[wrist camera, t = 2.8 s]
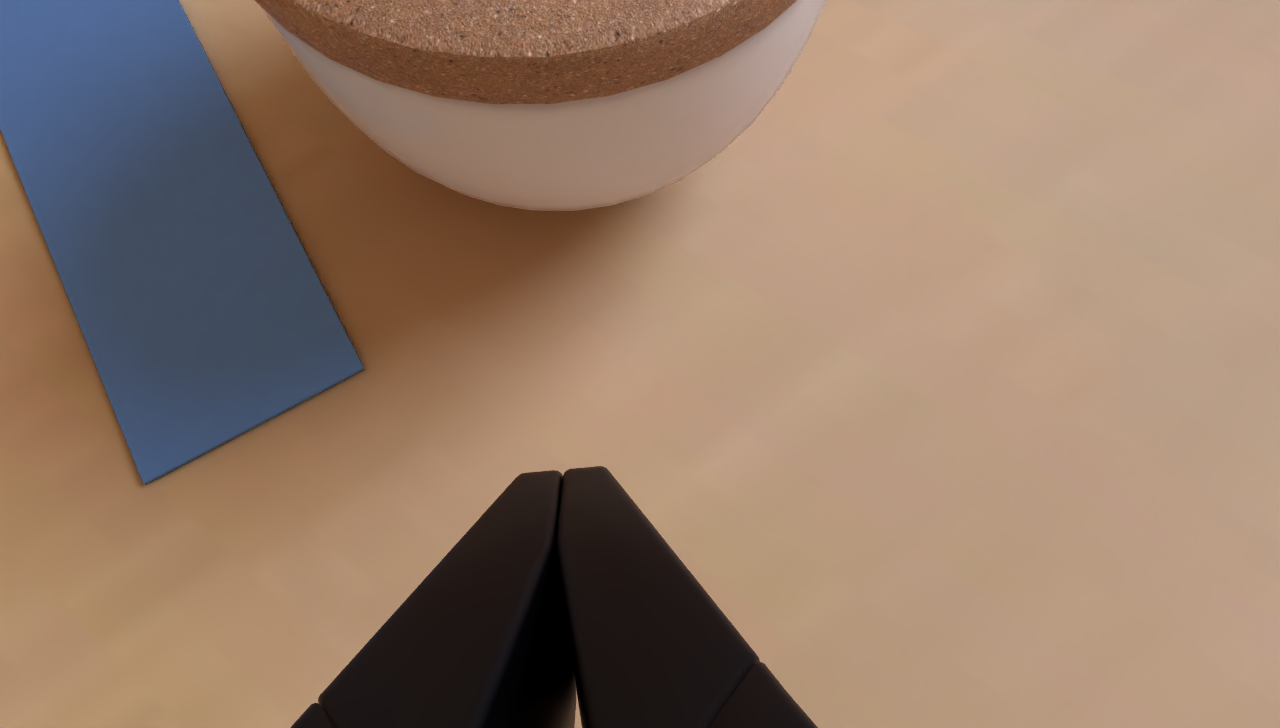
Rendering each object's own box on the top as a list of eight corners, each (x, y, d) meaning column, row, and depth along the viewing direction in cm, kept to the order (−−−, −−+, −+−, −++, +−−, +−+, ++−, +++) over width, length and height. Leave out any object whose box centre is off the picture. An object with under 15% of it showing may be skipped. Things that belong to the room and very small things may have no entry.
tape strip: (145, 484, 18) (143, 484, 18) (-55, -11, 22) (-58, -14, 21) (364, 369, 18) (363, 367, 18) (133, -90, 22) (131, -93, 22)
